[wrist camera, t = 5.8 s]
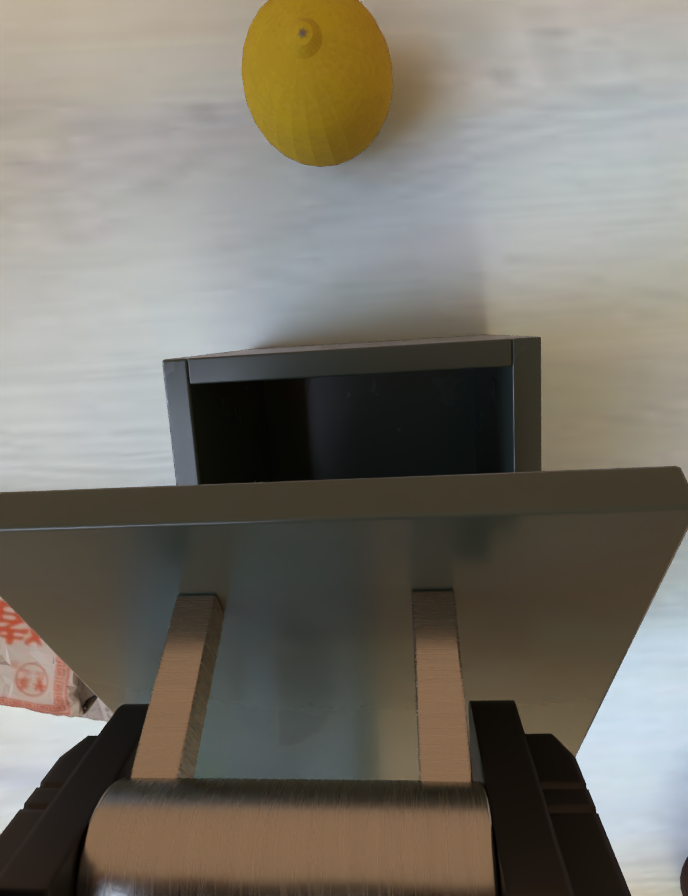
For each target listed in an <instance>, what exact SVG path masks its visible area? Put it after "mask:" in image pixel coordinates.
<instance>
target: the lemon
mask: <svg viewBox="0 0 688 896" xmlns="http://www.w3.org/2000/svg"><path fill="white" fill-rule="evenodd" d="M242 79H243V85H244V91H245V97H246V101H247V104H248V107H249V109H250V111H251V114H252V116H253V119H254V121H255V123H256V125H257V126H258V128H259V129H260V130H261V132H262V133H263V135H264V136H265V137H266V139H267V140H268V141H269V142H270V144H272V145H273V146H274V147H275V148H277V149H278V150H279V151H280V152H281V153H283V154H284V155H285V156H286V157H289V158H291V159H293V160H295V161H297V162H300V163H302V164H305V165H312V166H318V167H323V166H332V165H338V164H340V163H343V162H345V161H348V160H350V159H353V158H354V157H355V156H357V155H358V154H359V153H361V152H362V151H363V150H365V149H366V148H367V147H368V146H369V144H370V143H371V142H372V141H373V140H374V138H375V137H376V136H377V135H378V133H379V131H380V129H381V127H382V125H383V123H384V121H385V119H386V117H387V114H388V110H389V105H390V101H391V96H392V64H391V59H390V55H389V51H388V47H387V43H386V40H385V38H384V36H383V34H382V32H381V31H380V29H379V27H378V25H377V23H376V21H375V19H374V18H373V16H372V15H371V14H370V13H369V11H368V10H367V9H366V8H365V7H364V6H363V5H362V4H361V3H360V2H359V0H268V1H267V2H266V3H265V4H264V5H263V6H262V7H261V8H260V10H259V11H258V13H257V15H256V16H255V18H254V20H253V22H252V23H251V25H250V27H249V30H248V33H247V37H246V40H245V43H244V47H243V59H242Z"/></svg>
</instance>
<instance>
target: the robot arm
mask: <svg viewBox="0 0 688 896" xmlns="http://www.w3.org/2000/svg"><path fill="white" fill-rule="evenodd" d="M148 706H149V704H123V705H121V706H120V707H119V708H118V709H117V710H116V711H115V713H114V714H113V716H112V717H111V718H110V720H109V721H108V723H107V724H106V725H105V727H104V728H103V730H102V731H101V732H100V734H99V735H98V736H87V737H86V738H85V739H83V740H82V741H81V742H79V743H78V744H77V745H75V746H74V747H73V748H72V749H70V750H69V751H68V752H66V753H65V754H64V755H62V756H61V757H60V758H59V759H58V761H57V762H56V763H55V764H54V766H53V767H52V768H51V770H50V771H49V772H48V774H47V775H46V776H45V778H44V779H43V780H42V781H41V785H40V788H36V789H35V791H34V792H33V793H32V794H31V796H30V797H29V798H28V800H27V801H26V802H25V804H24V809H20V810H19V811H18V813H17V814H16V815H15V817H14V818H13V819H12V821H11V822H10V823H9V824H8V826H7V827H6V828H5V830H4V831H3V832H2V834H1V835H0V896H75V890H76V877H77V869H78V862H79V857H80V852H81V848H82V844H83V840H84V837H85V833H86V830H87V827H88V824H89V822H90V819H91V816H92V814H93V812H94V810H95V808H96V806H97V804H98V802H99V800H100V798H101V797H102V795H103V794H104V792H105V791H106V790H107V788H108V787H109V786H110V785H111V784H112V783H114V782H115V781H117V780H119V779H121V778H123V777H130V776H131V772H132V768H133V765H134V761H135V757H136V753H137V749H138V745H139V741H140V737H141V733H142V730H143V726H144V722H145V718H146V714H147V710H148ZM468 715H469V745H470V757H471V767H472V777H473V781H480V782H482V783H484V786H485V788H486V790H487V794H488V798H489V803H490V808H491V814H492V821H493V828H494V835H495V844H496V853H497V862H498V873H499V885H500V896H631V894H630V891H629V889H628V886H627V884H626V881H625V879H624V876H623V874H622V872H621V869H620V867H619V864H618V862H617V859H616V857H615V854H614V852H613V849H612V847H611V844H610V842H609V839H608V837H607V835H606V832H605V830H604V827H603V825H602V822H601V820H600V817H599V815H598V814H597V813H596V807H595V805H594V802H593V800H592V798H591V795H590V793H589V790H587V788H586V783H585V780H584V778H583V775H582V773H581V770H580V768H579V766H578V763H577V761H576V758H575V756H574V755H573V754H572V753H571V752H570V751H569V750H568V749H567V748H566V747H565V746H564V745H563V744H562V743H561V742H560V741H559V740H558V739H557V738H556V737H555V736H554V735H553V734H552V733H546V734H525V732H524V729H523V726H522V723H521V719H520V716H519V713H518V710H517V706H516V703H515V701H514V700H482V701H469V704H468Z"/></svg>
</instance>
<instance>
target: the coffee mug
mask: <svg viewBox="0 0 688 896" xmlns="http://www.w3.org/2000/svg"><path fill="white" fill-rule="evenodd" d="M680 884H681V891H682V894H683V896H688V857H687V859H686V861H685V863H684V865H683V868H682V872H681V877H680Z"/></svg>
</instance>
